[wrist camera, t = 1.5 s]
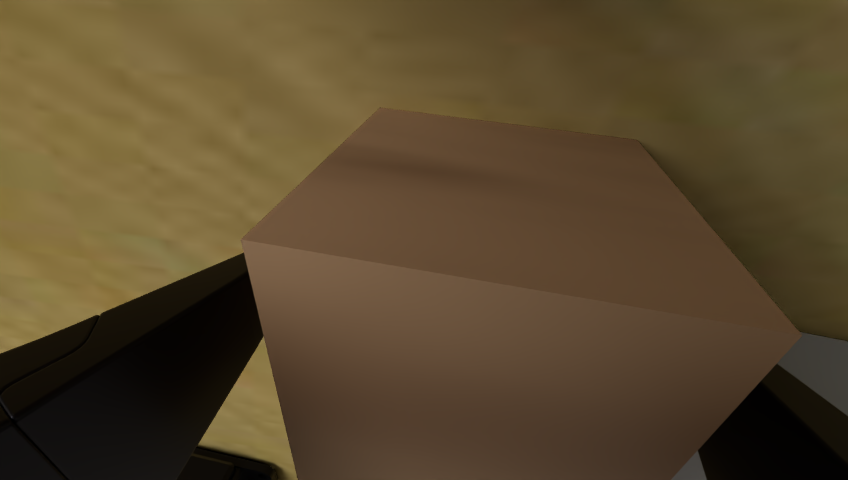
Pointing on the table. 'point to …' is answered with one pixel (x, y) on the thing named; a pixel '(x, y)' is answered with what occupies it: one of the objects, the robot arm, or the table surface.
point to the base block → (803, 380)
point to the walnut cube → (501, 308)
